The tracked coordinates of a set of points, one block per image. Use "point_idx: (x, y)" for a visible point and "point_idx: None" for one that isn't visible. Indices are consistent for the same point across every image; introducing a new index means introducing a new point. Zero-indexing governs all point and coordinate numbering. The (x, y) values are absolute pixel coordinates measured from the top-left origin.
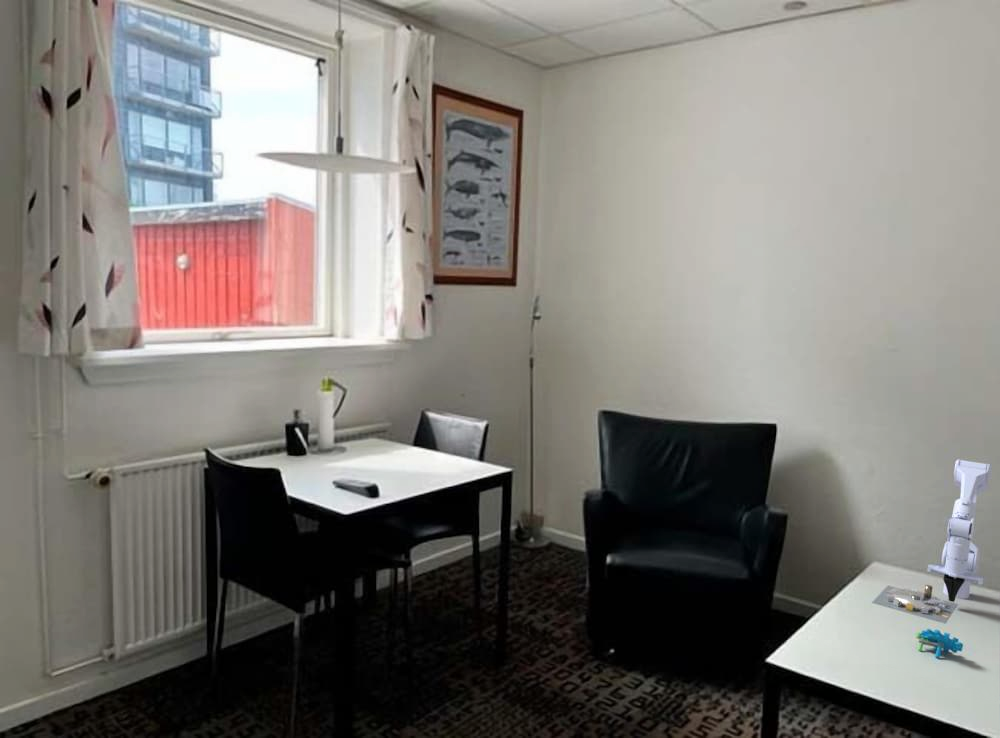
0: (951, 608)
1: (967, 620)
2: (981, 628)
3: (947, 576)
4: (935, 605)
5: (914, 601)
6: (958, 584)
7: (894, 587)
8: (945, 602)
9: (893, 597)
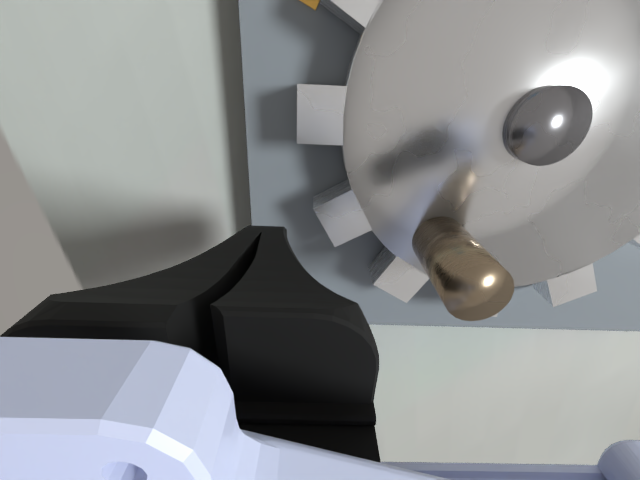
0: (270, 218)
1: (148, 118)
2: (11, 8)
3: (318, 440)
4: (371, 63)
5: (566, 9)
6: (104, 296)
7: (606, 324)
8: None
9: None
